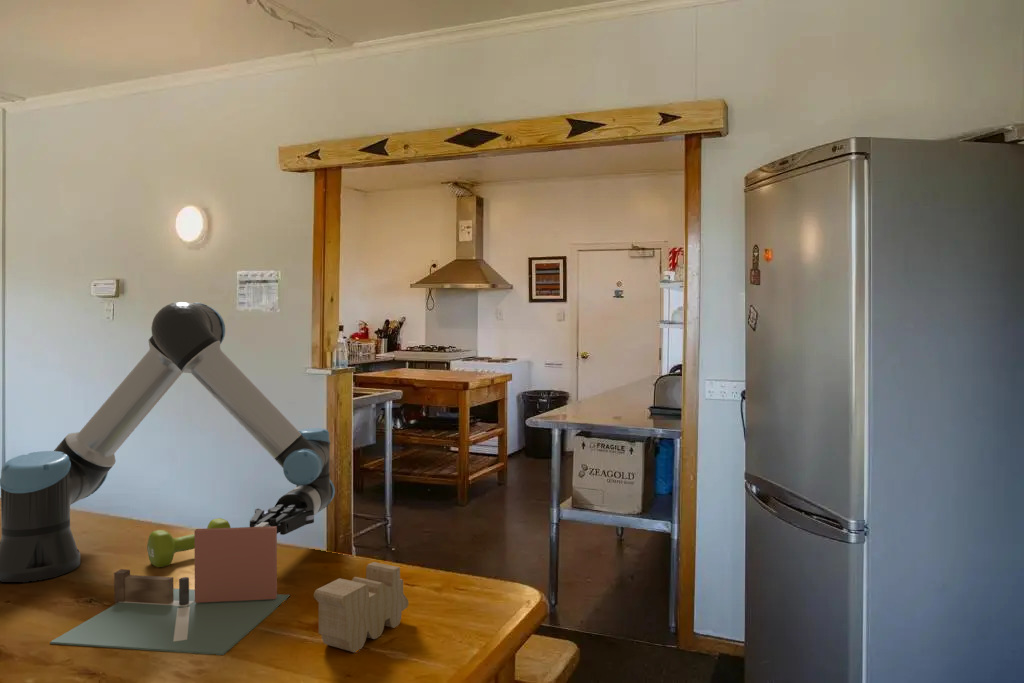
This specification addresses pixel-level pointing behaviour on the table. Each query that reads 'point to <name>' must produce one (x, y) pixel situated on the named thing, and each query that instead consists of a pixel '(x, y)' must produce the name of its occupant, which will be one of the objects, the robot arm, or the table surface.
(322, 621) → the toy train
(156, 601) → the fence wall
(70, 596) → the table surface
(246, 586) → the gate panel
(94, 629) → the card
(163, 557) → the dumbbell
